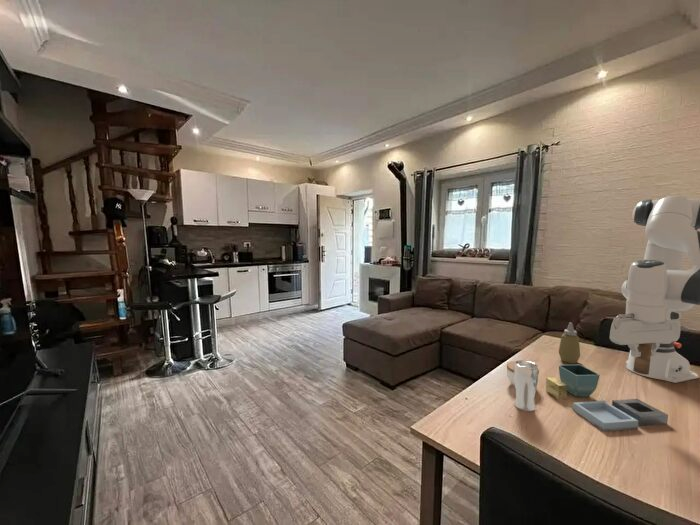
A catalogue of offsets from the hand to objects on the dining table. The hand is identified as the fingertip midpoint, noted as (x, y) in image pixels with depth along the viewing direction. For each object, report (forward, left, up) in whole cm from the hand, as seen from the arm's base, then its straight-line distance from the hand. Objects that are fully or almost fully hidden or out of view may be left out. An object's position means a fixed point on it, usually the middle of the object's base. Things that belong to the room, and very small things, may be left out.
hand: (643, 356), depth 93 cm
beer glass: (+32, -9, -20) cm, 39 cm away
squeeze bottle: (-12, -41, -20) cm, 47 cm away
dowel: (0, 0, -5) cm, 5 cm away
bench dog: (+16, -15, -20) cm, 30 cm away
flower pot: (+8, -15, -20) cm, 26 cm away
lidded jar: (+24, -22, -20) cm, 38 cm away
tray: (+12, 0, -20) cm, 23 cm away
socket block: (0, 0, -20) cm, 20 cm away
